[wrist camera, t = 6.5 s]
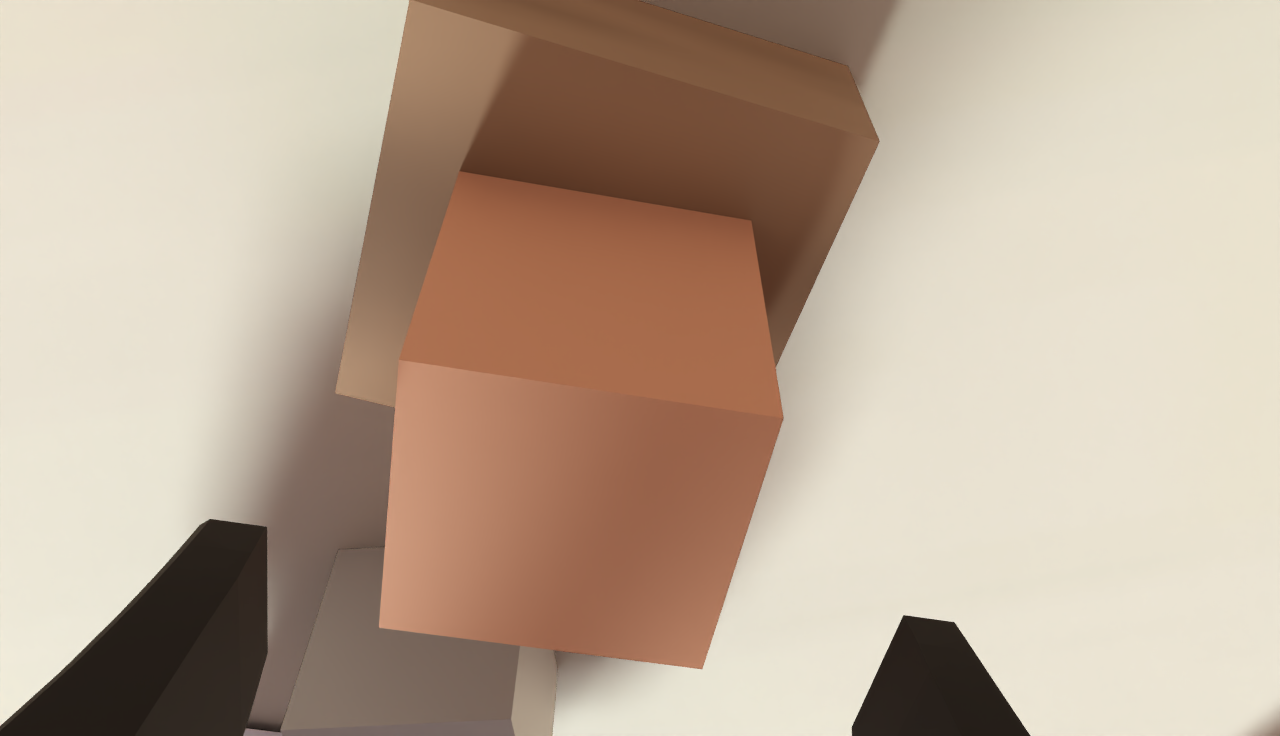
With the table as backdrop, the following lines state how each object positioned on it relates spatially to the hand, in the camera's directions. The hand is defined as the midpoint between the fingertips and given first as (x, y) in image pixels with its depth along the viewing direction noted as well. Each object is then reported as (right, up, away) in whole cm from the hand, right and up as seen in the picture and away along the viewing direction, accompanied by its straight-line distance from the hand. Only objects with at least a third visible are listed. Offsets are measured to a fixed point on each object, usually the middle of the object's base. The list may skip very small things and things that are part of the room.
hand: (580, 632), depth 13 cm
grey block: (-4, -3, +14) cm, 15 cm away
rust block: (0, +4, +6) cm, 7 cm away
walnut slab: (0, +6, +8) cm, 10 cm away
